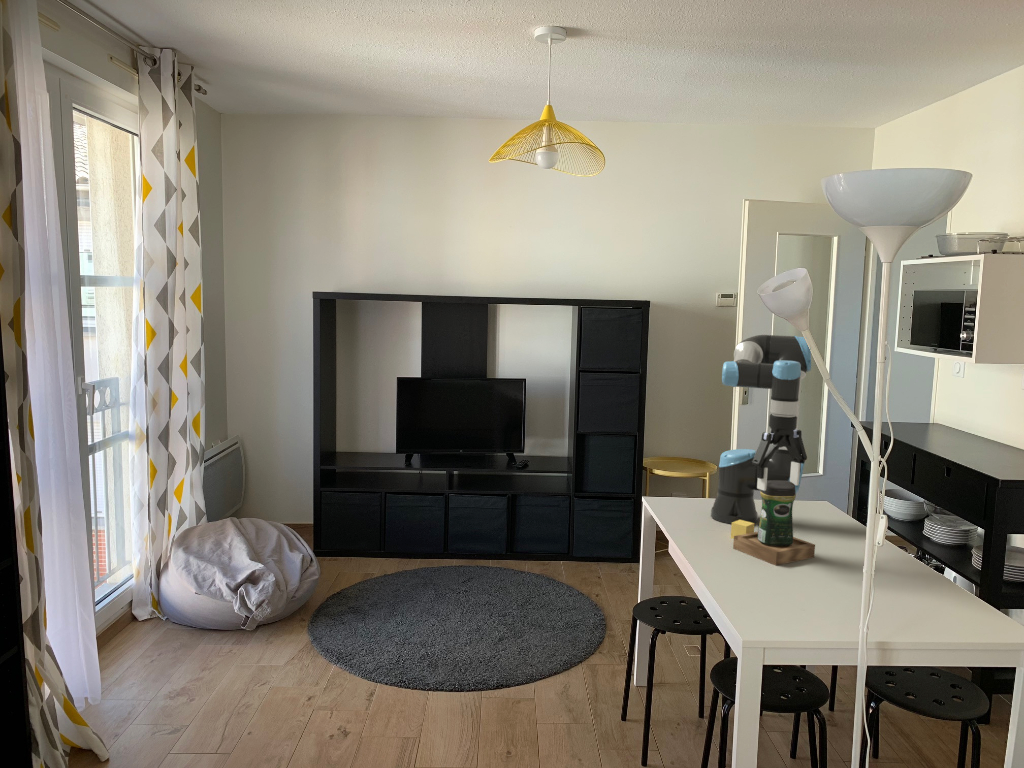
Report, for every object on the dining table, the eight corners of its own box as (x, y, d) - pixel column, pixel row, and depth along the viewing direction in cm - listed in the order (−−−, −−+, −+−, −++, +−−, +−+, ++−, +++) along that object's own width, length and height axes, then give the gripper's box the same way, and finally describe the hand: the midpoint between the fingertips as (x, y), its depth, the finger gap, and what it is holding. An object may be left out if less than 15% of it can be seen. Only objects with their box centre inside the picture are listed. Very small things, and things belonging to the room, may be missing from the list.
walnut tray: (770, 541, 242) (771, 529, 242) (814, 557, 228) (815, 544, 228) (733, 548, 234) (734, 535, 233) (775, 565, 220) (776, 552, 220)
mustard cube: (738, 535, 248) (739, 519, 247) (753, 539, 244) (754, 523, 243) (730, 538, 244) (731, 522, 243) (745, 542, 241) (746, 526, 240)
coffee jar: (785, 538, 235) (789, 477, 233) (796, 547, 227) (801, 484, 225) (753, 538, 234) (757, 477, 232) (763, 547, 227) (767, 483, 224)
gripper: (802, 410, 236) (796, 479, 239) (742, 415, 223) (737, 488, 226) (823, 414, 229) (817, 485, 232) (762, 419, 217) (757, 494, 220)
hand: (778, 486), depth 229 cm, fingers open, 13 cm apart
